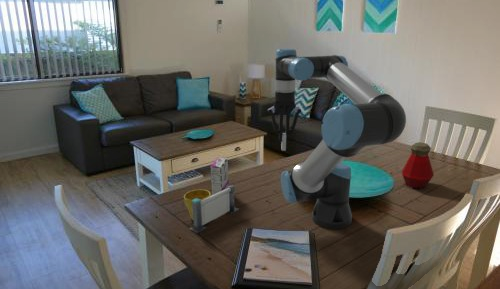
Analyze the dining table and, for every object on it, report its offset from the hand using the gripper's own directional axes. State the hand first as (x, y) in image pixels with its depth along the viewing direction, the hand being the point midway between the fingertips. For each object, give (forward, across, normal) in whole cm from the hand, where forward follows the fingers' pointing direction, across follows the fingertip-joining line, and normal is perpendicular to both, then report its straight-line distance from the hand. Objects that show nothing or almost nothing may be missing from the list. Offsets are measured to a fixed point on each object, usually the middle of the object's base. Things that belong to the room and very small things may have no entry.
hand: (283, 149), depth 154 cm
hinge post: (+24, +21, +4) cm, 32 cm away
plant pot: (+24, +34, +10) cm, 43 cm away
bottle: (+25, -65, -17) cm, 72 cm away
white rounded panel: (+24, +26, +10) cm, 37 cm away
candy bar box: (+25, +26, -9) cm, 37 cm away
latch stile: (+24, +34, +18) cm, 45 cm away
